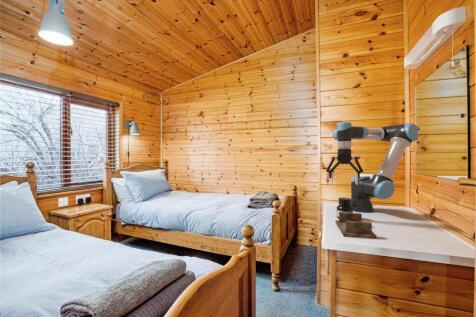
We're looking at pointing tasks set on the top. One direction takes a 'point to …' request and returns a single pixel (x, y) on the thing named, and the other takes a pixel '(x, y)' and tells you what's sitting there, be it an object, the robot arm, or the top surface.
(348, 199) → the ink bottle
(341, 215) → the cradle
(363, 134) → the robot arm
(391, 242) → the top surface
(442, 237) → the top surface
